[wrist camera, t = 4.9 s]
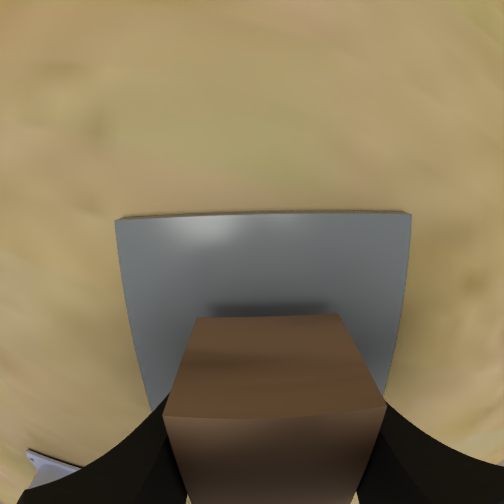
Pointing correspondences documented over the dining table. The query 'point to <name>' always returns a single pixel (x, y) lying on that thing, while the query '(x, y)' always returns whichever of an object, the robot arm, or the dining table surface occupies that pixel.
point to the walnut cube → (272, 411)
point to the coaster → (261, 278)
